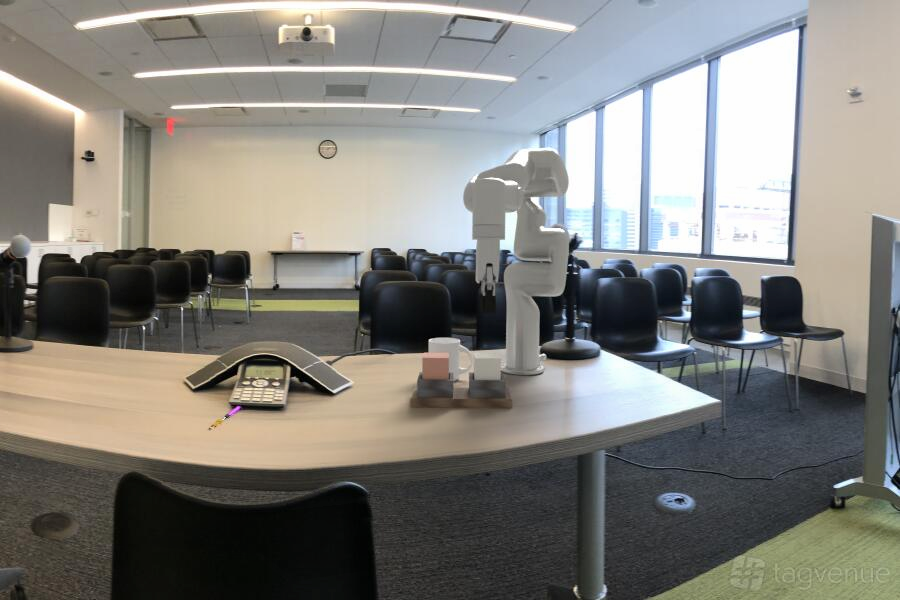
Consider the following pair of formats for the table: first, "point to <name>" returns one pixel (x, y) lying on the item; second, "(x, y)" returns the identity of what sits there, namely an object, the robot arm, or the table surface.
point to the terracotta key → (435, 366)
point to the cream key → (487, 366)
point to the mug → (451, 353)
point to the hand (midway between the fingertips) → (487, 311)
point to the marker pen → (226, 416)
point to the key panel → (461, 393)
